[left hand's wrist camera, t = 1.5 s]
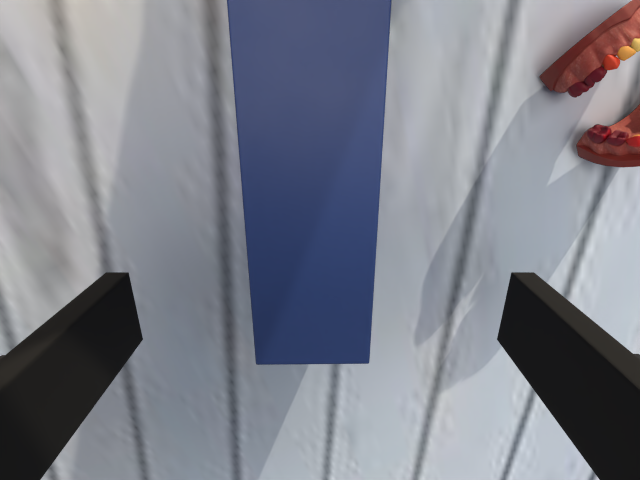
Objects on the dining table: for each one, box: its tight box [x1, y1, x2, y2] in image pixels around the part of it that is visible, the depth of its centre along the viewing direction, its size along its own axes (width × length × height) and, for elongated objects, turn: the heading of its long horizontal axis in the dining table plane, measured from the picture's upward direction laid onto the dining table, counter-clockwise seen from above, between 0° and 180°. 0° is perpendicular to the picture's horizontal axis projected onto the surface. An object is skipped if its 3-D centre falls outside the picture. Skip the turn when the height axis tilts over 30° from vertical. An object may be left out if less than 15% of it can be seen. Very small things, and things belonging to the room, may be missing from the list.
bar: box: [227, 0, 391, 365], centre depth 15 cm, size 28×5×9 cm, turn 0°
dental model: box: [540, 0, 640, 167], centre depth 19 cm, size 6×4×8 cm
